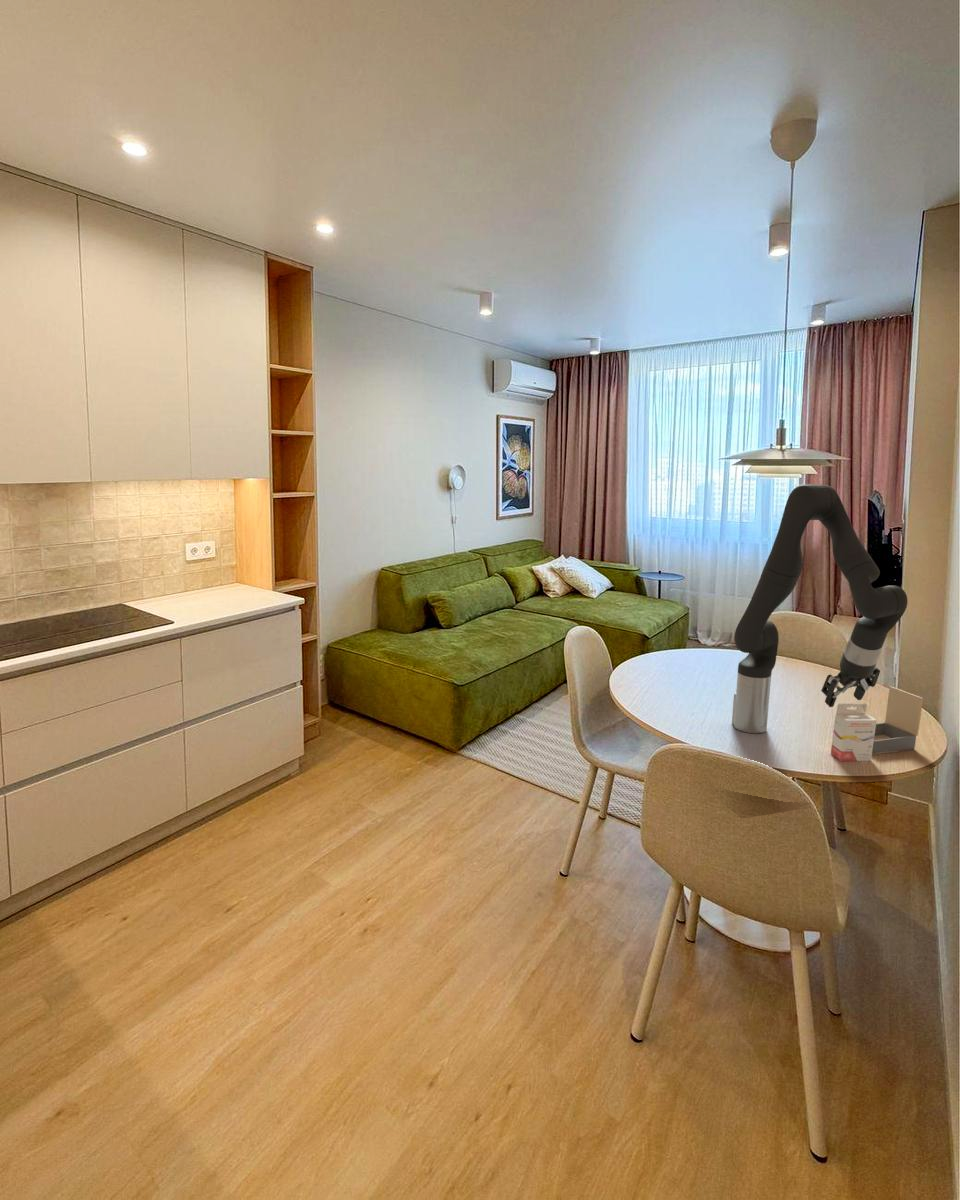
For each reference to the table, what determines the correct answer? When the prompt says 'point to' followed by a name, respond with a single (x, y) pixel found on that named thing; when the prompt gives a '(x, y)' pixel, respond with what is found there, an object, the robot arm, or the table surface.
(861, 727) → the ink cartridge box
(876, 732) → the mailer box
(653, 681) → the table surface
